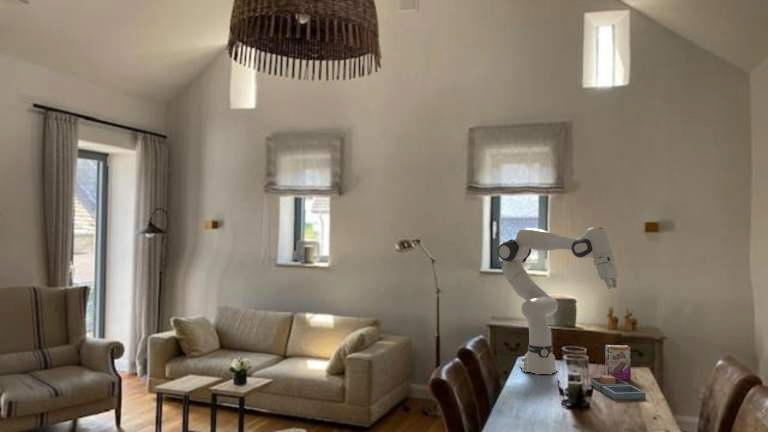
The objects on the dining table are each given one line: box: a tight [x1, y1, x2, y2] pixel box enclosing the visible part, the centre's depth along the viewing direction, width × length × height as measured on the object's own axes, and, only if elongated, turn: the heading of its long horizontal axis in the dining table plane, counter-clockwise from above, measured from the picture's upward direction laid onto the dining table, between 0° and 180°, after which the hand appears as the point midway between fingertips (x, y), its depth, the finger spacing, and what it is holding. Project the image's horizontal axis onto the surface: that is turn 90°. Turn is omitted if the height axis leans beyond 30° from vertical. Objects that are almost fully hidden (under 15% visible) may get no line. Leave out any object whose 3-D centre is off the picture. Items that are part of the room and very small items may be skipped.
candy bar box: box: [604, 344, 632, 381], centre depth 287 cm, size 11×5×16 cm, turn 84°
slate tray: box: [601, 384, 646, 401], centre depth 258 cm, size 12×14×3 cm
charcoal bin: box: [590, 376, 631, 393], centre depth 273 cm, size 14×14×3 cm
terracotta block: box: [599, 374, 616, 385], centre depth 273 cm, size 5×5×5 cm
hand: (612, 288), depth 275 cm, fingers open, 8 cm apart
